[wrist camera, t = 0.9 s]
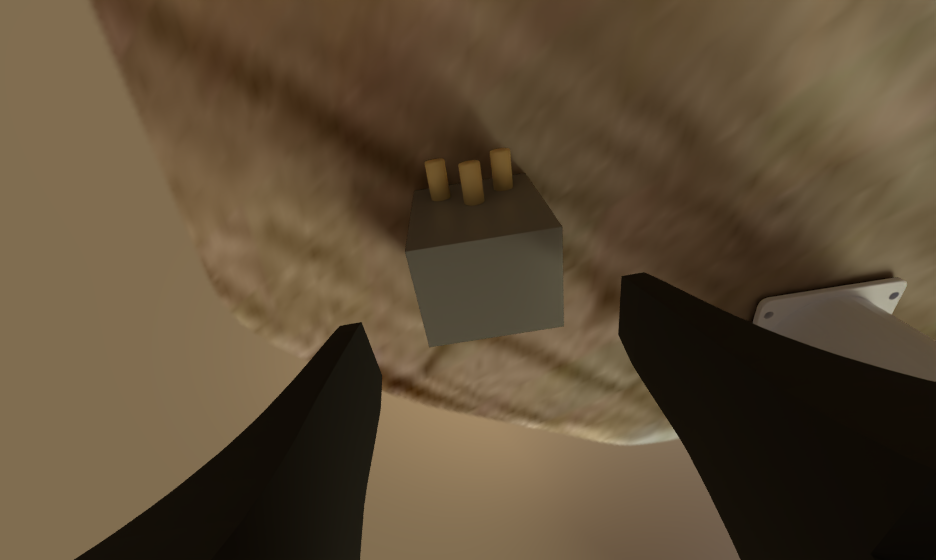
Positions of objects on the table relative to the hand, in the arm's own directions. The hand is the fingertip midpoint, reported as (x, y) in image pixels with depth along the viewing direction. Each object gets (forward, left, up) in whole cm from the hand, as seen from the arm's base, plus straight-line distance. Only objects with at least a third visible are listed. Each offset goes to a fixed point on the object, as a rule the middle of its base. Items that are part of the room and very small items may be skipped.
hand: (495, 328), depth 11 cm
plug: (-1, 0, -9) cm, 9 cm away
